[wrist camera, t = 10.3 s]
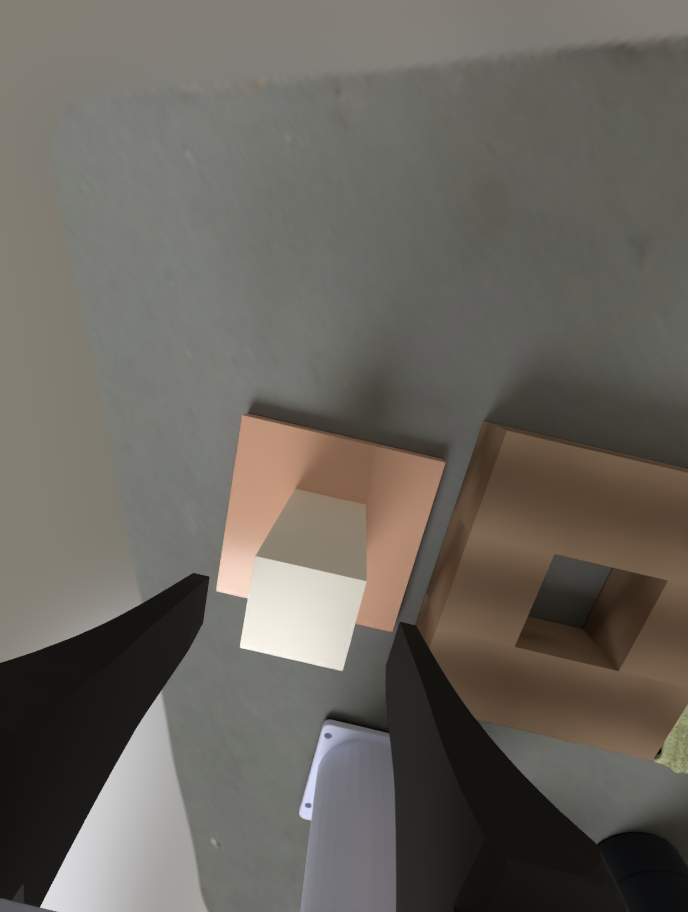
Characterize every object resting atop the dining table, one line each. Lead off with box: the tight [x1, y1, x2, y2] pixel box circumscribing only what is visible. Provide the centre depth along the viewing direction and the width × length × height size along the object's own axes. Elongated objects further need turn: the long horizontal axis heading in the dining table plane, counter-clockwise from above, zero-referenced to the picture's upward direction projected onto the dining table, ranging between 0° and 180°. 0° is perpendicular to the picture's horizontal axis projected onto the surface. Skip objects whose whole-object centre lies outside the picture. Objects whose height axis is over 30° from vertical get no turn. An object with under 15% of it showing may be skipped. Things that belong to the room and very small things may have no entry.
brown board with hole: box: [416, 421, 688, 761], centre depth 18 cm, size 16×14×3 cm
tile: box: [216, 413, 446, 632], centre depth 19 cm, size 11×11×1 cm
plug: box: [240, 489, 367, 671], centre depth 16 cm, size 4×4×7 cm
